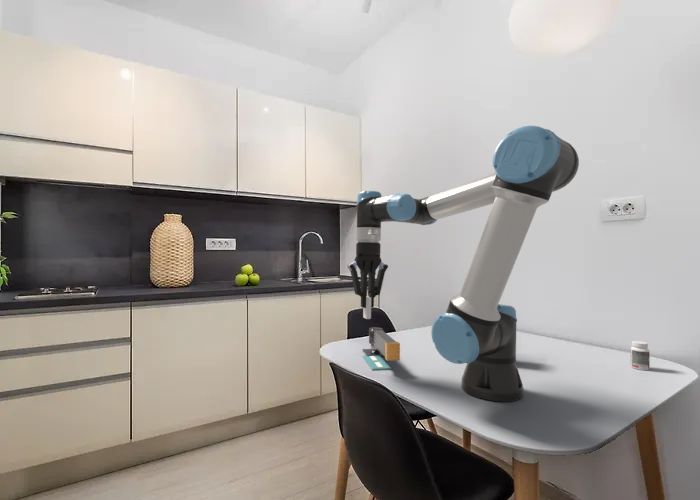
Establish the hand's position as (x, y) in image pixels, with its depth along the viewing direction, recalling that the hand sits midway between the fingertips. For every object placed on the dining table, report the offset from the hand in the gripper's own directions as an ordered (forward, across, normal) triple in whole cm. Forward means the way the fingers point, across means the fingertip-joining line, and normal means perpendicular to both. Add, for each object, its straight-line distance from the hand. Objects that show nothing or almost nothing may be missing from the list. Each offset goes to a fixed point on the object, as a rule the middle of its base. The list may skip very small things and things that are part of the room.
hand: (367, 318), depth 111 cm
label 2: (+16, +5, +2) cm, 17 cm away
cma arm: (+12, +8, +6) cm, 16 cm away
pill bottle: (+16, +85, -26) cm, 90 cm away
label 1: (+16, +6, +9) cm, 19 cm away
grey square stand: (+16, +10, +15) cm, 24 cm away
